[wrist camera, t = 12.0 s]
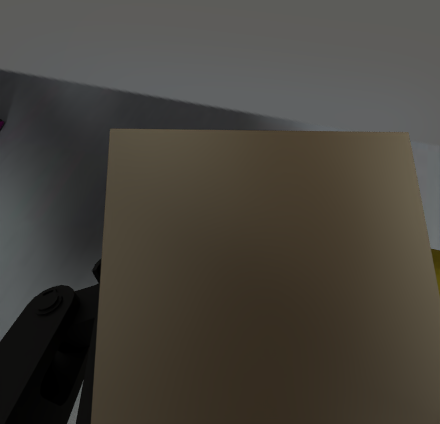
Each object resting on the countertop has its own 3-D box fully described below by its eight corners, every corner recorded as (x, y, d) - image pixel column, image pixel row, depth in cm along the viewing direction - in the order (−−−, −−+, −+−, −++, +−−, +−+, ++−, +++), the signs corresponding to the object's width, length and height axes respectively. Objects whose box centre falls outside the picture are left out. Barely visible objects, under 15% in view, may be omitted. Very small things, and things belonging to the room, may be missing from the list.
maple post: (189, 282, 16) (84, 524, 2) (189, 222, 17) (110, 127, 3) (249, 280, 16) (473, 476, 3) (246, 221, 17) (408, 132, 3)
